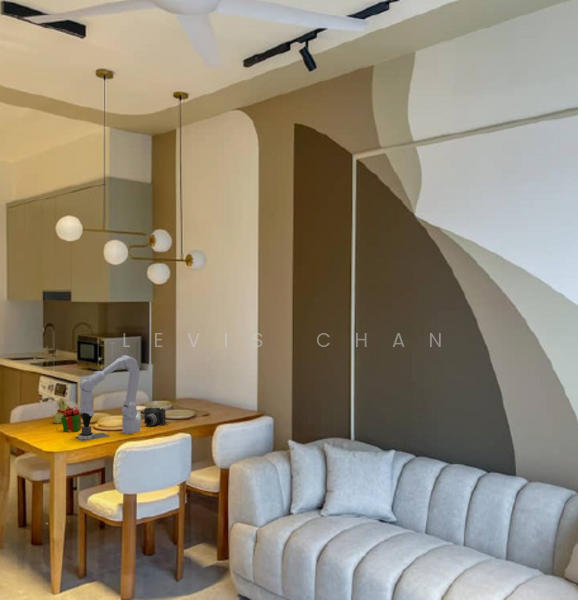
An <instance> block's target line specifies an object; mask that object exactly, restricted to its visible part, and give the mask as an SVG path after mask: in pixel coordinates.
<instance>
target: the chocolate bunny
mask: <svg viewBox="0 0 578 600" xmlns="http://www.w3.org/2000/svg"><path fill="white" fill-rule="evenodd" d="M56 403H57V406H58V409H57V410H56V411H57V412H56V413H55V414H54V416H53V419H52V422H53V424H56V425H57V424H63V423H62V422H61V417H62V416H64V415H63V413H64V412H65V410H66V408H68V409H69V408H72V406H71V405H70V404H69V403H67V401H66V400H65V398H64V397H60V398H59V399H58V400H57V401H56Z"/></svg>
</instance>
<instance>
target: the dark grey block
mask: <svg viewBox="0 0 578 600" xmlns="http://www.w3.org/2000/svg"><path fill="white" fill-rule="evenodd" d="M81 426H82V429H81V433H82V436H88V435H91V432H92V425H89V427H84V425H81Z"/></svg>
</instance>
